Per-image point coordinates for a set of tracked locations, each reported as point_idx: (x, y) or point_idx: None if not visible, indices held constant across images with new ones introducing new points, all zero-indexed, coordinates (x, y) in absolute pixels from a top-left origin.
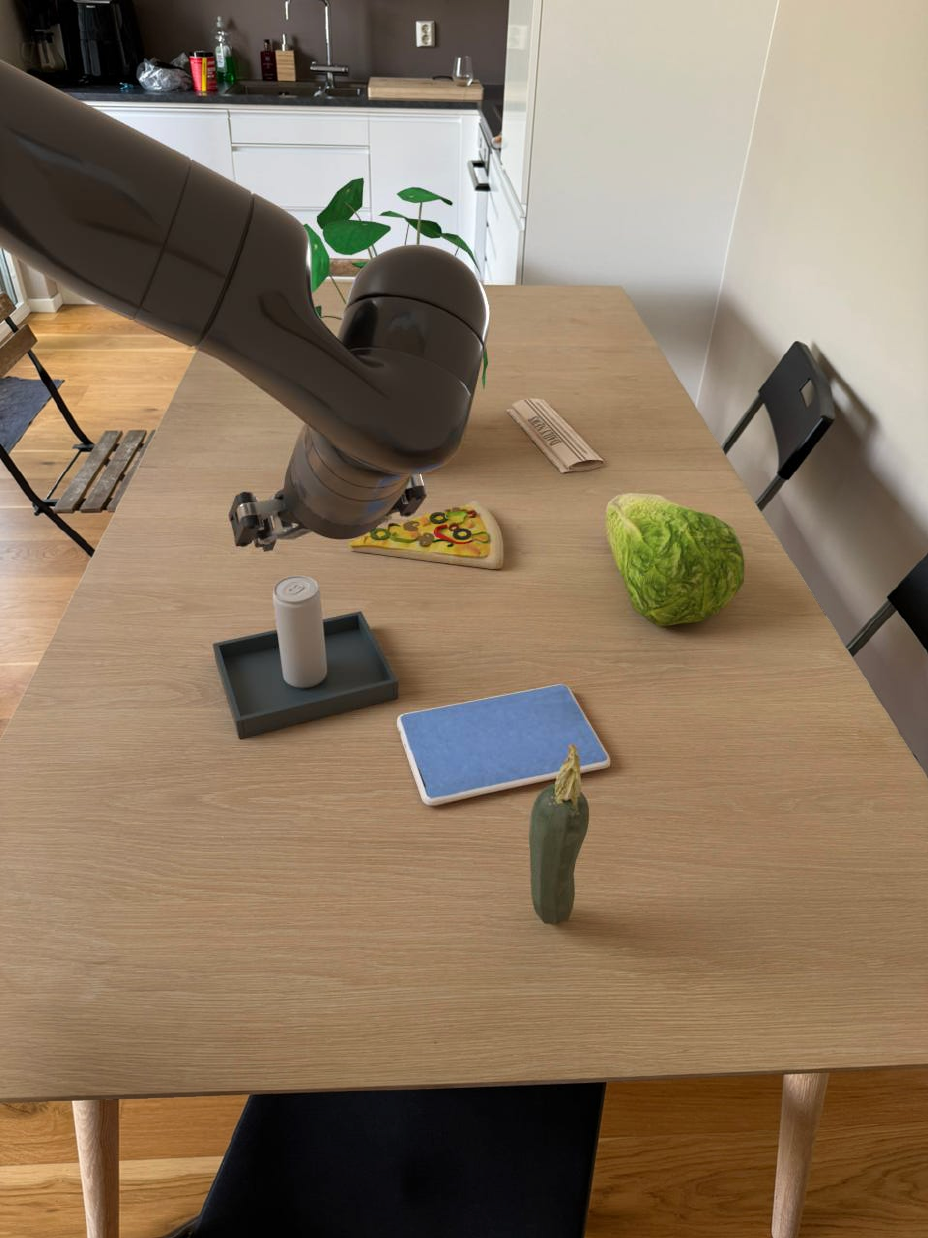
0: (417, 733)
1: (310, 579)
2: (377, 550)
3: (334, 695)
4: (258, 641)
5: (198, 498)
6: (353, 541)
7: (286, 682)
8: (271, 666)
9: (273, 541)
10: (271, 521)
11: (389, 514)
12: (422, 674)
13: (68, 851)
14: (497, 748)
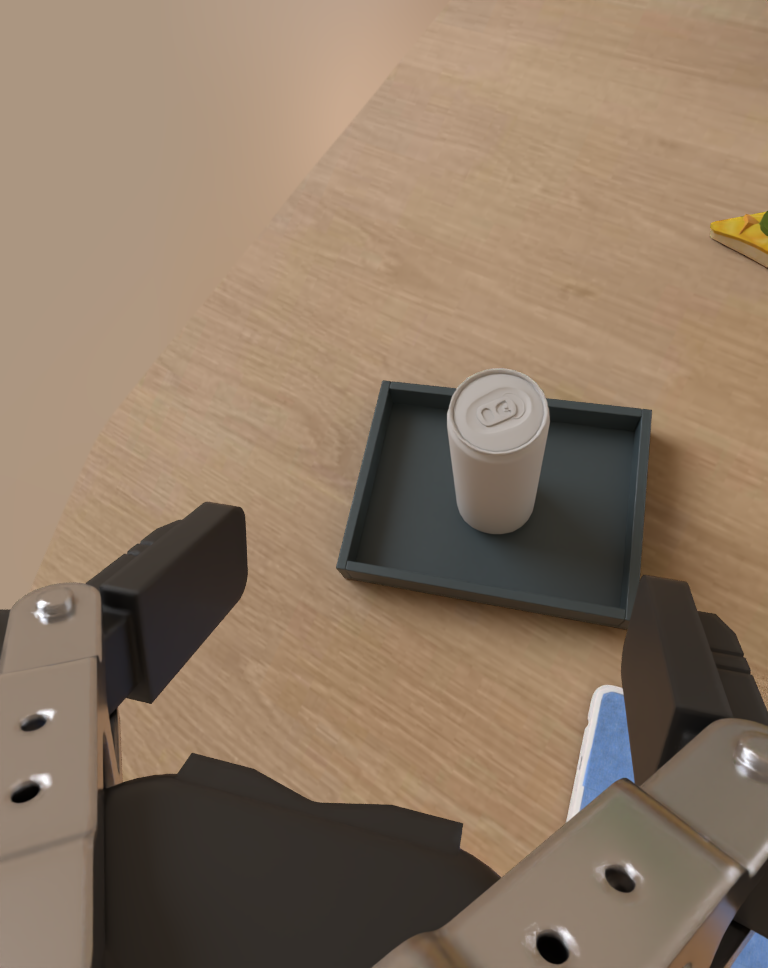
0: (615, 753)
1: (540, 394)
2: (759, 255)
3: (508, 594)
4: None
5: (518, 47)
6: (722, 222)
7: None
8: None
9: (141, 699)
10: (142, 625)
11: (752, 932)
12: (699, 594)
13: None
14: None
